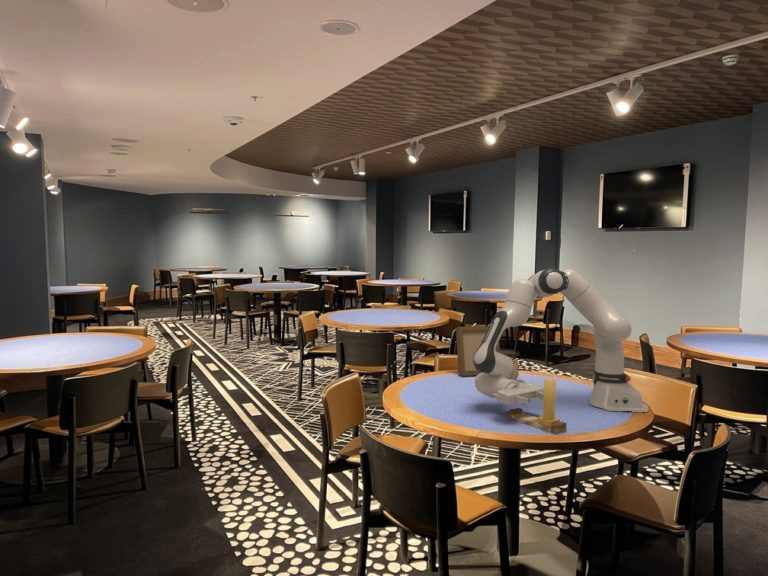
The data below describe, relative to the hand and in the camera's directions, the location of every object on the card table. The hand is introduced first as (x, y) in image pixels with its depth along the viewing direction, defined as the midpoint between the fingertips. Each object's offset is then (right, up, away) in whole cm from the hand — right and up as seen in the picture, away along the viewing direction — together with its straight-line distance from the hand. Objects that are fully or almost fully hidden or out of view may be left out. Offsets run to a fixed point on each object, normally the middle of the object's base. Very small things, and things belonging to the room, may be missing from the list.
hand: (536, 399), depth 199 cm
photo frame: (-8, -4, +83) cm, 83 cm away
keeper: (+3, -8, -4) cm, 9 cm away
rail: (0, -9, +1) cm, 9 cm away
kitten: (0, -6, +52) cm, 52 cm away
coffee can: (+4, -5, +69) cm, 70 cm away
